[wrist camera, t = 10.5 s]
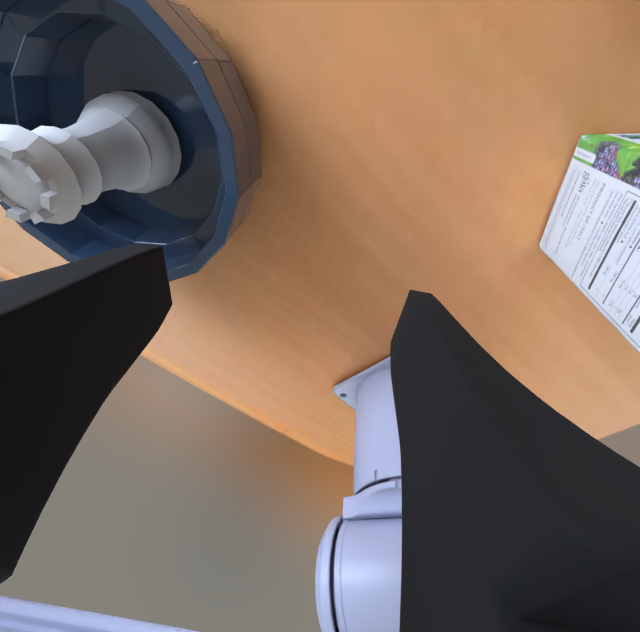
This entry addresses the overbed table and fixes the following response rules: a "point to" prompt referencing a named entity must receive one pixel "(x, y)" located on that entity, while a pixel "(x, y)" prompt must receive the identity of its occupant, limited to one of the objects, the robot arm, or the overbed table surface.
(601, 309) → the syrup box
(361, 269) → the overbed table surface
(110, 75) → the bowl
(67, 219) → the rook chess piece
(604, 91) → the overbed table surface
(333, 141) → the overbed table surface
